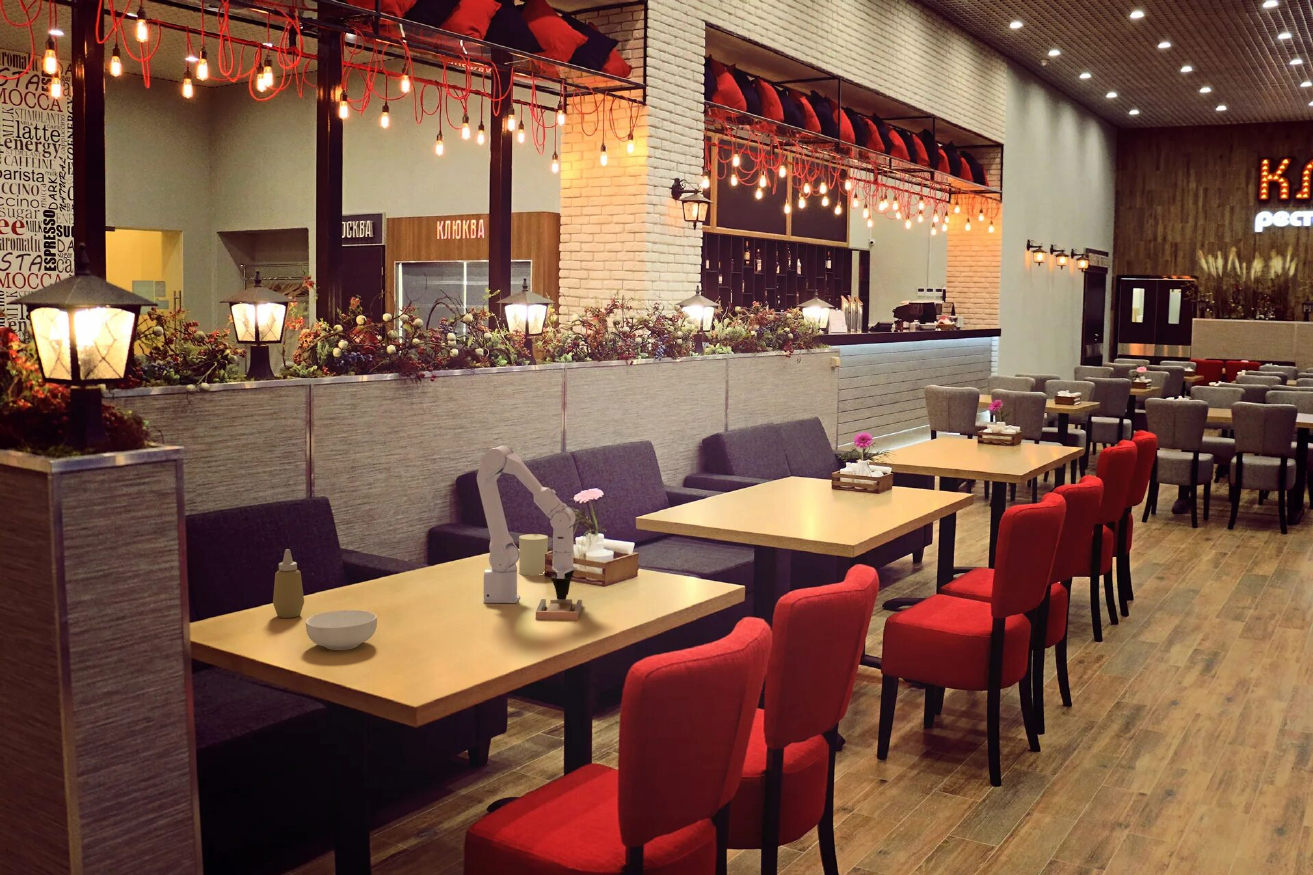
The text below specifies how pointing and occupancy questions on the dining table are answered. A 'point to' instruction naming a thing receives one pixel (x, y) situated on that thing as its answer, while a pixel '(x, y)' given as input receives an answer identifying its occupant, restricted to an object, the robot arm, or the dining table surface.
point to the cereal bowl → (341, 628)
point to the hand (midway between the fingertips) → (562, 598)
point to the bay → (558, 612)
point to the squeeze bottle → (288, 589)
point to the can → (532, 553)
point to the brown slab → (560, 605)
